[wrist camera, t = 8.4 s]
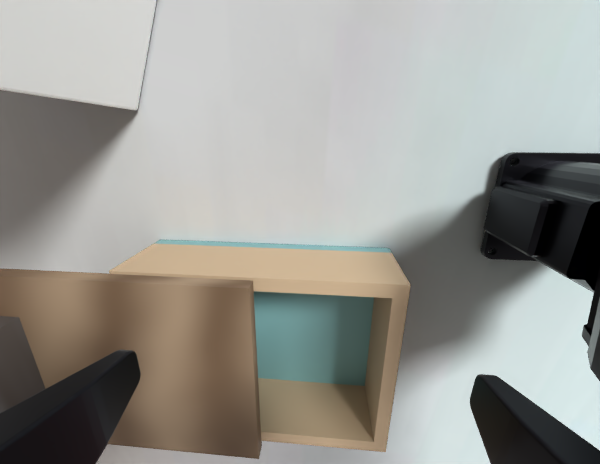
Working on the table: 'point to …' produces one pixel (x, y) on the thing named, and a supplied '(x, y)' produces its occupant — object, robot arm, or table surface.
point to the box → (309, 331)
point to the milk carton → (76, 49)
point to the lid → (141, 351)
